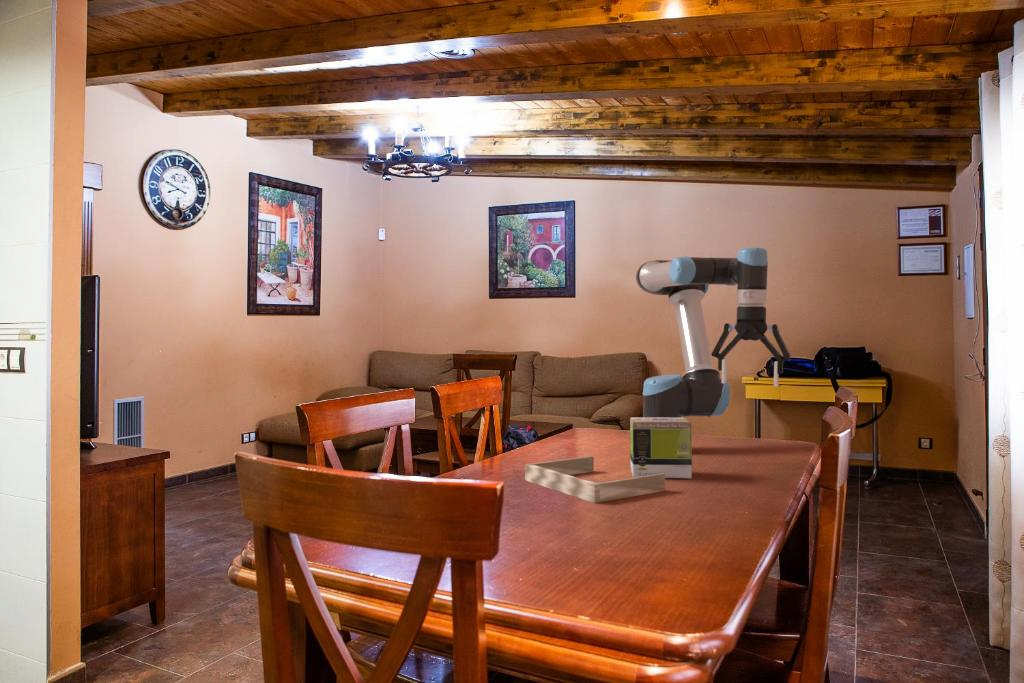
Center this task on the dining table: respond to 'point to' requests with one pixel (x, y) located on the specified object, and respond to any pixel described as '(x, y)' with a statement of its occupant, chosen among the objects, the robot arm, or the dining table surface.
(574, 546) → the dining table surface
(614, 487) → the corral
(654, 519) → the dining table surface
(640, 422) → the tea box
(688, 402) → the robot arm
